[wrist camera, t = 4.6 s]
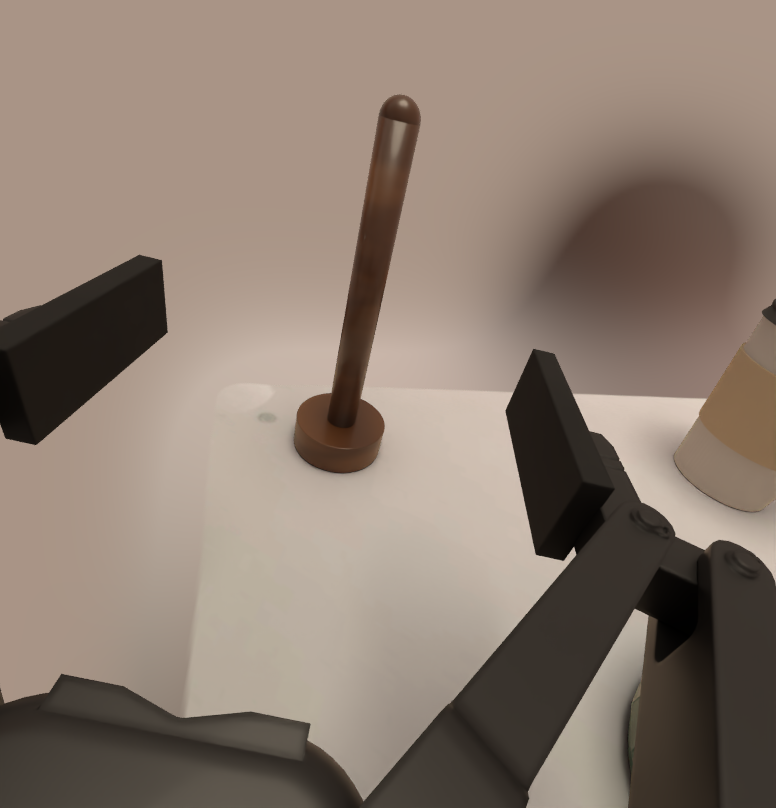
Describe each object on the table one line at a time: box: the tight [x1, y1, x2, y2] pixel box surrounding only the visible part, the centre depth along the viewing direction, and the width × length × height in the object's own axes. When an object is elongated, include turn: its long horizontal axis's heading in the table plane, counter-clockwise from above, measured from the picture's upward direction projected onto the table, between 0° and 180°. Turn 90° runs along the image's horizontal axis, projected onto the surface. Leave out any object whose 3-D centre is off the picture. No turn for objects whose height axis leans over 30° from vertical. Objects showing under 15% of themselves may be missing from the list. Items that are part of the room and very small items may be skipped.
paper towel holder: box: [294, 95, 421, 473], centre depth 24 cm, size 6×6×19 cm
